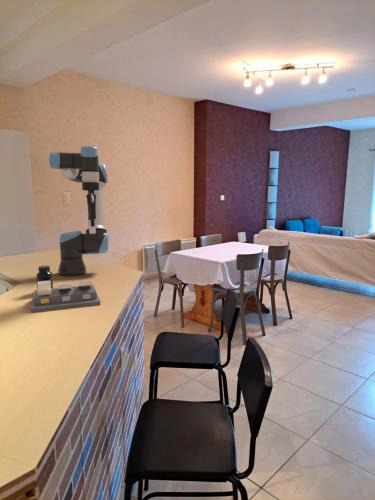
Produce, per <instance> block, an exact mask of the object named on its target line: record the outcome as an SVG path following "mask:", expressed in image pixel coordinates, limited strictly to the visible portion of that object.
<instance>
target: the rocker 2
mask: <svg viewBox="0 0 375 500" xmlns="http://www.w3.org/2000/svg"><path fill="white" fill-rule="evenodd" d="M72 287H73V284H72V283H71V282H67V283H58V286H57V288H59V289H65V288H72Z"/></svg>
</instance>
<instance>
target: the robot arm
mask: <svg viewBox="0 0 375 500" xmlns="http://www.w3.org/2000/svg"><path fill="white" fill-rule="evenodd" d="M48 159H49V160H48V161H49V162H48V163H49V167H50V169H52V170H53V169H54V170H60V173H61V175H62V176H63V177H64V179H67V180H68V181H71V182H74V183H80V184H81V188H82V189H81V190H82V191H87V194H86V195H85V197H86V204H87V220H88V223H87V224H88V225H87V226H88V227H87V228H86V229H85V233H83V232H82V230H73V231H66V232H63V233H61V234H60V235H59V249H60V250H59V252H60V254H59V255H60V262H59V264H58V265H59V266H58V268H57V274H58V275H59V276H63V277H68V276H69V277H72V276H74V277H75V276H81V275H84V274H86V273H87V267H86V264H85V262H84V258H83V255H100V254H106V253H108V251H109V247H110V246H109V245H110V233H109V232H108V231H107V228H105V218H104V217H105V215H104V188H105V187H106V184H108V173H107V169H106V168H107V167H106V165H105V163H103V162H100V160H99V150H98V147H97V146H92V145H83V146H81V147H80V152H61V151H60V152H58V151H55V152H54V151H53V152H49V155H48Z"/></svg>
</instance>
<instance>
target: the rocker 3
mask: <svg viewBox="0 0 375 500" xmlns="http://www.w3.org/2000/svg"><path fill="white" fill-rule="evenodd" d="M91 285H93V281H92V280H84V281H83V280H82V281H79V282H78V283H77V286H78V287H85V286H91Z"/></svg>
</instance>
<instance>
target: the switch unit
mask: <svg viewBox="0 0 375 500" xmlns="http://www.w3.org/2000/svg"><path fill="white" fill-rule="evenodd" d="M96 290H97V289H96V288H95V286H94V284H92V285H91V286H85V287H78V285H77V286H74V285H72V288H65V289H59V287H53V288H52V289H51V294H49V295H39V296H38V290H37V289H34V293H33V296H32V298H31V304H30V305H31V306H30V312H31V313H37V312H38V313H39V312H47V311H48V312H49V311H56V310H64V309H75V308H81V307H91V306H92V307H93V306H101V299H100V298H99V295H98V293H97V291H96Z"/></svg>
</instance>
